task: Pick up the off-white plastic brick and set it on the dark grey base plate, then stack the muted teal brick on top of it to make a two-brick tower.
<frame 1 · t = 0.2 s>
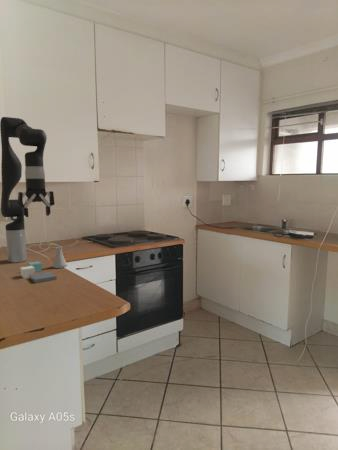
hand: (37, 216, 139), 28 cm above the worktop, tool pointing down, fingers open, 8 cm apart
white brick: (28, 276, 149), on the worktop
base plate: (42, 278, 144), on the worktop
flask: (60, 267, 164), on the worktop
teal brick: (35, 271, 157), on the worktop
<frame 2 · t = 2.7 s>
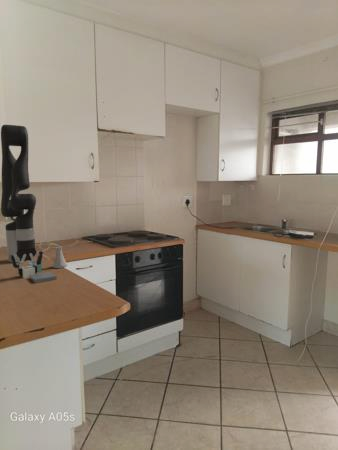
hand: (28, 274, 149), 0 cm above the worktop, tool pointing down, fingers closed on white brick, 5 cm apart
white brick: (28, 276, 149), on the worktop, touching gripper
everything else where it was.
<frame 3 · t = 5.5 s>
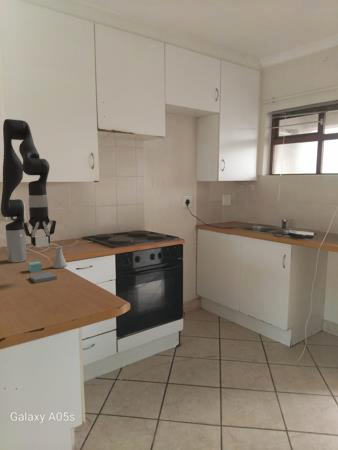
hand: (40, 244, 142), 15 cm above the worktop, tool pointing down, fingers closed on white brick, 5 cm apart
white brick: (40, 245, 142), point 15 cm above the worktop, touching gripper
everything else where it was.
when the fingers open (3 cm above the worktop, at t = 8.1 s): white brick drops 1 cm, resting on base plate.
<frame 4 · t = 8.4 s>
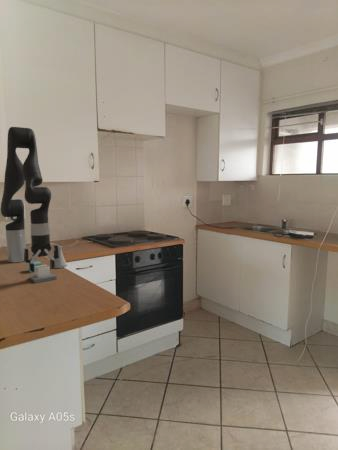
hand: (42, 269, 144), 4 cm above the worktop, tool pointing down, fingers open, 8 cm apart
white brick: (42, 275, 144), point 1 cm above the worktop, touching base plate
everything else where it was.
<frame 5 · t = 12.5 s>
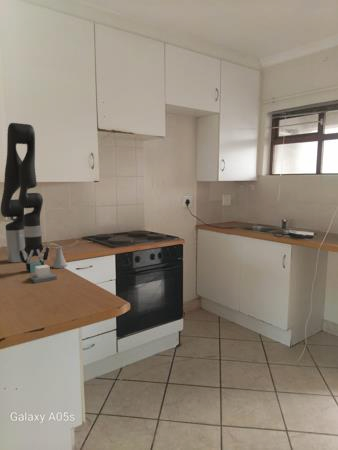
hand: (35, 269, 157), 0 cm above the worktop, tool pointing down, fingers closed on teal brick, 5 cm apart
teal brick: (35, 270, 157), on the worktop, touching gripper
everything else where it was.
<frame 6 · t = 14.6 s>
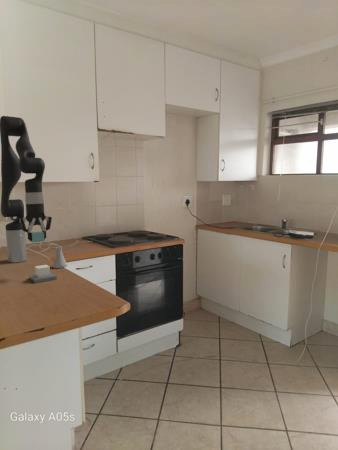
hand: (37, 239, 148), 16 cm above the worktop, tool pointing down, fingers closed on teal brick, 5 cm apart
teal brick: (37, 241, 148), point 16 cm above the worktop, touching gripper
everything else where it was.
when the fingers open (7 cm above the worktop, at t = 17.1 s): teal brick drops 1 cm, resting on white brick.
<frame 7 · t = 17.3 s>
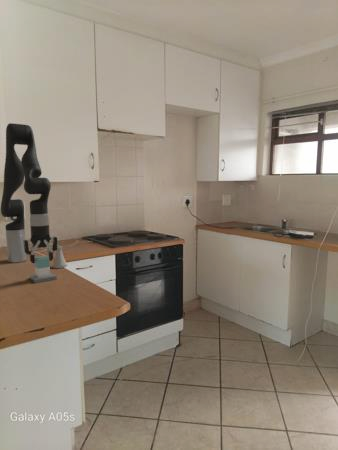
hand: (41, 261, 143), 8 cm above the worktop, tool pointing down, fingers open, 6 cm apart
white brick: (42, 275, 144), point 1 cm above the worktop, touching base plate, teal brick
teal brick: (42, 266, 143), point 5 cm above the worktop, touching white brick
everything else where it was.
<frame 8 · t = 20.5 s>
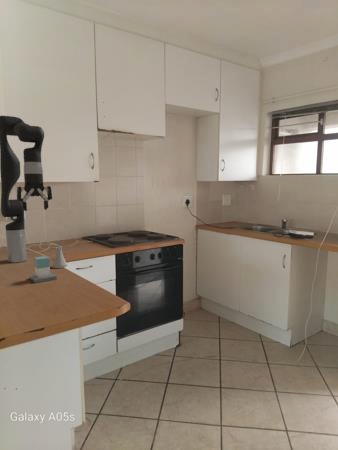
hand: (35, 210, 144), 30 cm above the worktop, tool pointing down, fingers open, 8 cm apart
nothing on the worktop moved.
at the end: white brick 0.0 cm off-centre on the base plate, point 1.5 cm above the base plate's base; teal brick 0.1 cm off-centre on the white brick, point 4.0 cm above the white brick's base; teal brick tilted 0° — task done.
